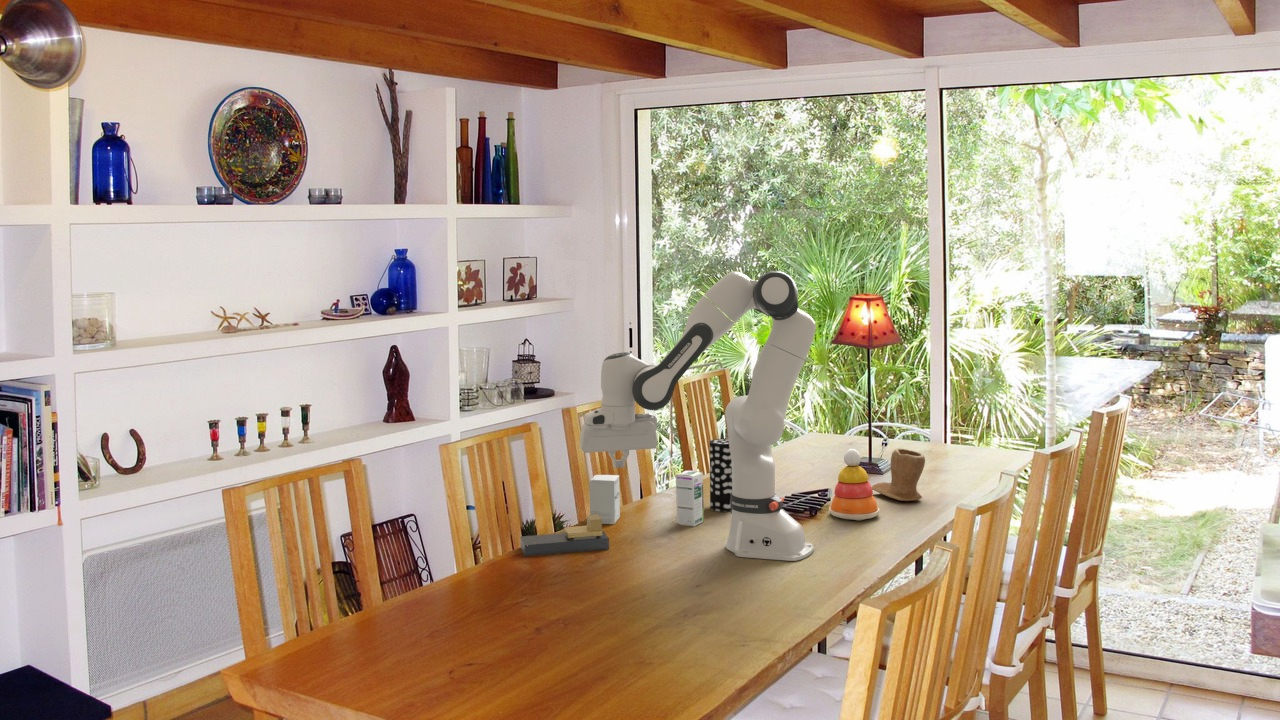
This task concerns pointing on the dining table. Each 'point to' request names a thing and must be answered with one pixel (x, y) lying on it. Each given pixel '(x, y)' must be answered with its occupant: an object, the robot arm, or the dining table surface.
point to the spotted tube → (720, 475)
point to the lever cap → (586, 528)
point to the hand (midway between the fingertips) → (619, 467)
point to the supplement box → (605, 498)
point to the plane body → (562, 544)
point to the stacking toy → (853, 491)
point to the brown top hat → (903, 476)
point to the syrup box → (689, 498)
